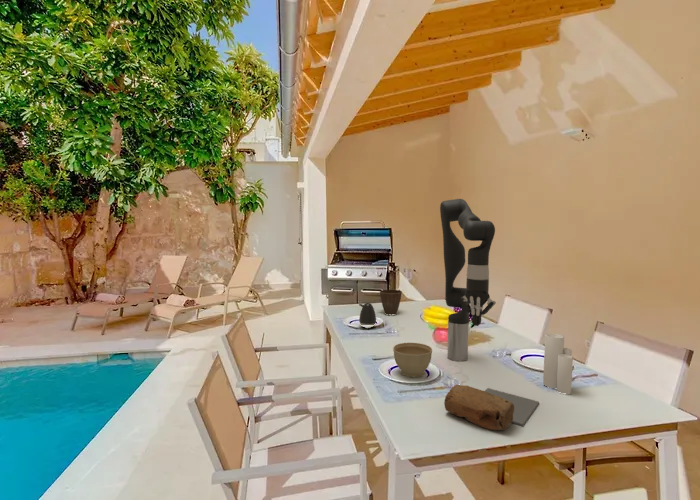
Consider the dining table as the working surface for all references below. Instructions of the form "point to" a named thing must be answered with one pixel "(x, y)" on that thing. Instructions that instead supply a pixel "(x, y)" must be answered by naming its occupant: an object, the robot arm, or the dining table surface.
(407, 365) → the planter bowl
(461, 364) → the dining table surface
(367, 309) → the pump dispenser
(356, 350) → the dining table surface
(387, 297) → the plant pot
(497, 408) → the block
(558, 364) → the vase
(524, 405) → the flat gray panel
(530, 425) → the dining table surface
